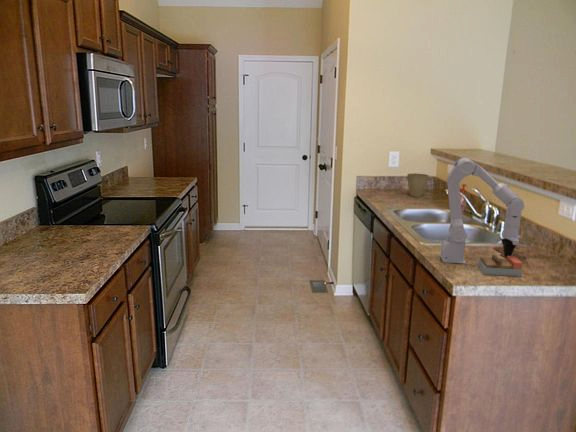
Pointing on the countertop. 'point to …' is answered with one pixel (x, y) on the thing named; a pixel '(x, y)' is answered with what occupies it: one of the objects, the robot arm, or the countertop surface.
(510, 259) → the red block
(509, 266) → the lid
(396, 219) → the countertop surface
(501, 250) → the wooden fragment
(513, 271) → the gray box
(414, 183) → the plant pot
